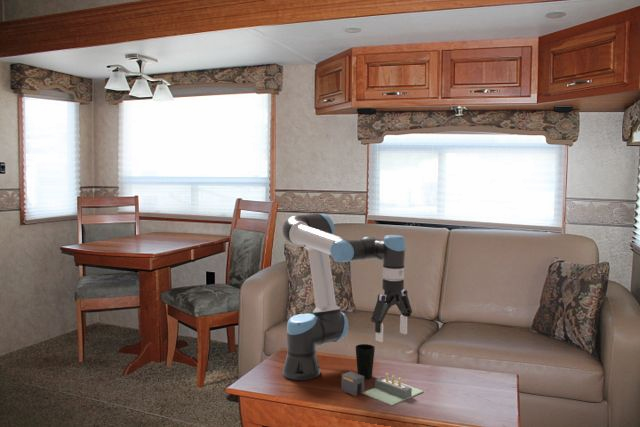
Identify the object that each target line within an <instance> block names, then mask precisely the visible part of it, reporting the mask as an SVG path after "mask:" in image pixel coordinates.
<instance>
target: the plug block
mask: <svg viewBox="0 0 640 427" xmlns="http://www.w3.org/2000/svg"><path fill="white" fill-rule="evenodd" d="M340 379H341V381H340V383H341V385H340V386H341V391H342V392H344V393H347V394H350V395H351V396H355V397H356V396H357V395H358V393H360V394H362V393H363V392H365V379H364V376H362V375H359V374H358V372H357V373H356V372H353V371H352V370H351V371H348V372H344V373H342V374H341V378H340Z"/></svg>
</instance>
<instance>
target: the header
mask: <svg viewBox="0 0 640 427" xmlns="http://www.w3.org/2000/svg"><path fill="white" fill-rule="evenodd" d="M395 378H396V377H395V375H391V379H389V373H388V372H387V373H386V372H385V377H382V376H381V377H380V378H377V379H375V380H374V381H375V382H374V384H375V386H374V387H373V388H371V389H367V390H364V392H363V393H361V394H362V395H366V396H368V397H370V398H372V399H375V400H377V401H380V402H381V403H385V404H387V405H388V406H395V405H396V404H399V403H402V402H404V401H406V400H408V399H411V398H412V397H415V396H417V395H420V394H422V393H424V390H421V389H420V388H416V387H413V386H411V385H408V384H406V383H403V382H402V378H401V377H398V379H397V380H396V379H395Z"/></svg>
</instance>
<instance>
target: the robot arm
mask: <svg viewBox="0 0 640 427" xmlns="http://www.w3.org/2000/svg"><path fill="white" fill-rule="evenodd" d="M334 224H335V223H334V222H333V220H332V218H331V217H330V216H328V215H327V214H326V213H310V214H309V213H307V214H295V215H291V216H289V217H287V219H286V220H285V221H284V223H283V224H282V235H283V237H284V239H285V240H286V241H288V242H289V243H291V244H293V245H296V246H297V245H298V246H300V245H303V248H304V249H305V250H307V252H308V253H307V254H308V259H309V260H308V261H309V266H310V267H309V268H310V276H311V281H312V290H313V297H314V303H315V308H314V310H312V313H299V314H295V315H292V316H290V317H289V319H288V320H287V323H286V324H287V326H286V332H287V333H286V357H285V361H284V365H283V367H282V376H283V377H285V378H287V379H289V380H292V381H293V380H294V381H308V380H309V381H310V380H314V379H316V378H319V376H320V375H321V367H320V363H319V360H318V356H317V346H321V345H326V344H330V343H337V342H339V341H342V340H343V339H344V338H345V337H346V336H347V334H348V332H349V320H348V317H347V316H346V313H344V312H342V311H341V307H340V306H338V305H337V301H336V296H335V295H336V294H335V289H334V288H335V287H334V282H333V273H332V266H331V265H332V264H331V260H330V257H331V258H332V259H333V261H334V262H336V263H349V262H355V261H365V260H379V261H382V262H383V264H382V278H383V279H382V289H383V291H384V293H383V294H380V293H379V294H378V295H377V301H376V303H375V307H374V309H373V314H372V316H371V319H370V322H372V323H374V324H375V326H374V330H375V341H377V342H380V343H383V342H384V323H383V321H384V319H385V317H386V315H387V313H388V311H389V309H390V308H392V307H393V306H396V307H397V308H398V309H399V312H400V318H399V333H400V334H402V335H407V334H408V322H409V317H411V315H412V314H413V309H412V307H411V304H410V300H409V297H408V290H407V289H404V288H405V280H404V278H405V261H406V260H405V259H406V258H405V257H406V239H405V237H404V236H402V235H400V234H398V235H396V234H387V235H384V237H383V239H382V238H377V237H374V236H364V237H363V238H360V239H359V238H358V239H347V238H344V237H341V236H338V235H337V234H335V233H336V229H335V227H336V226H335V225H334Z"/></svg>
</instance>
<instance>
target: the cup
mask: <svg viewBox="0 0 640 427" xmlns="http://www.w3.org/2000/svg"><path fill="white" fill-rule="evenodd" d="M375 349H376V347H375V345H372V344H367V343H361V344H357V345H356V346H355V357H356V358H355V359H356V370H357V371H356V372H357V374H359V375H362V376H364V380H370V379H372V378H373V369H374V360H375V359H374V358H375Z"/></svg>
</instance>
